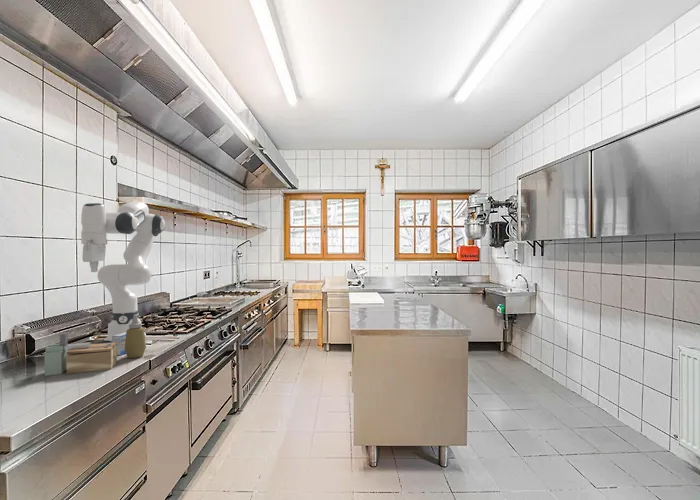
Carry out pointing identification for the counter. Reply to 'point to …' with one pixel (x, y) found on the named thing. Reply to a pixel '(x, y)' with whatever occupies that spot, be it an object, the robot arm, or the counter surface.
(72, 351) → the lid
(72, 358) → the crate
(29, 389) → the counter surface
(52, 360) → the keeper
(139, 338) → the squeeze bottle
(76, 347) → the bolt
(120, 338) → the medicine box
